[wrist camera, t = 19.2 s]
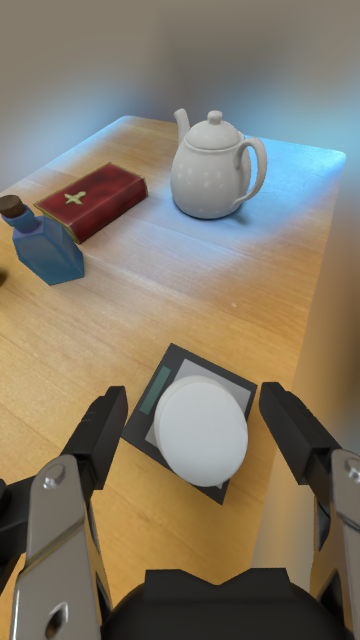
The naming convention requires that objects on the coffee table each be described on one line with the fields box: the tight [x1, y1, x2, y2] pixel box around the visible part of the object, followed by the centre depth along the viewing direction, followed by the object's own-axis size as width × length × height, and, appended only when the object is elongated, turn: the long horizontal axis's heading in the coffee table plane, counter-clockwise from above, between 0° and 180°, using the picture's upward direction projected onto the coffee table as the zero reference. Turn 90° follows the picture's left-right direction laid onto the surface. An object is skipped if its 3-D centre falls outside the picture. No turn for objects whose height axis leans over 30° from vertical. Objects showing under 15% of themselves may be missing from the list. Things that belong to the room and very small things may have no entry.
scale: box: [121, 343, 258, 505], centre depth 20 cm, size 12×12×3 cm
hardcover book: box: [33, 162, 148, 244], centre depth 38 cm, size 12×21×4 cm, turn 142°
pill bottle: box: [154, 375, 248, 487], centre depth 14 cm, size 6×6×11 cm
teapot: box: [171, 109, 267, 219], centre depth 34 cm, size 19×18×14 cm
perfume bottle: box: [0, 195, 84, 285], centre depth 27 cm, size 6×6×12 cm
